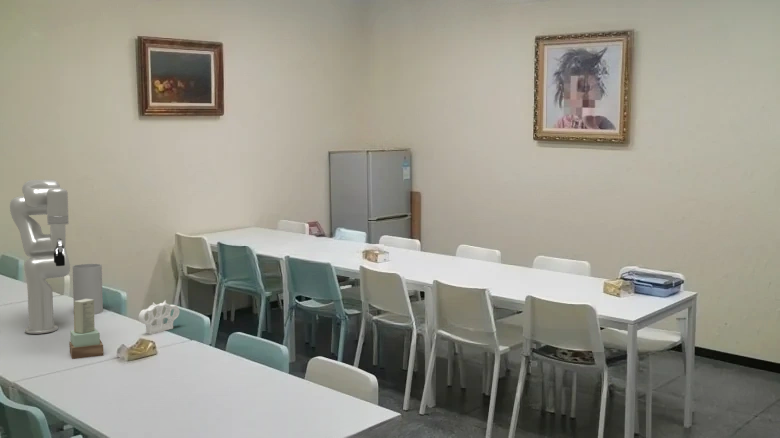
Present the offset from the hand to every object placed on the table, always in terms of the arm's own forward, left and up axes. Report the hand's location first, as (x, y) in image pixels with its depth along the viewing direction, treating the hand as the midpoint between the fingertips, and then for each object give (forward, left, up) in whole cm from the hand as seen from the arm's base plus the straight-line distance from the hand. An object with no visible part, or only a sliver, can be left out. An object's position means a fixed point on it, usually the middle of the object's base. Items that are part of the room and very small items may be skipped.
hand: (59, 264), depth 295 cm
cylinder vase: (-52, +15, -34) cm, 64 cm away
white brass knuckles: (-6, +39, -34) cm, 51 cm away
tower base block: (+14, +8, -34) cm, 37 cm away
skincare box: (+14, +7, -25) cm, 29 cm away
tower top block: (+14, +7, -29) cm, 33 cm away
